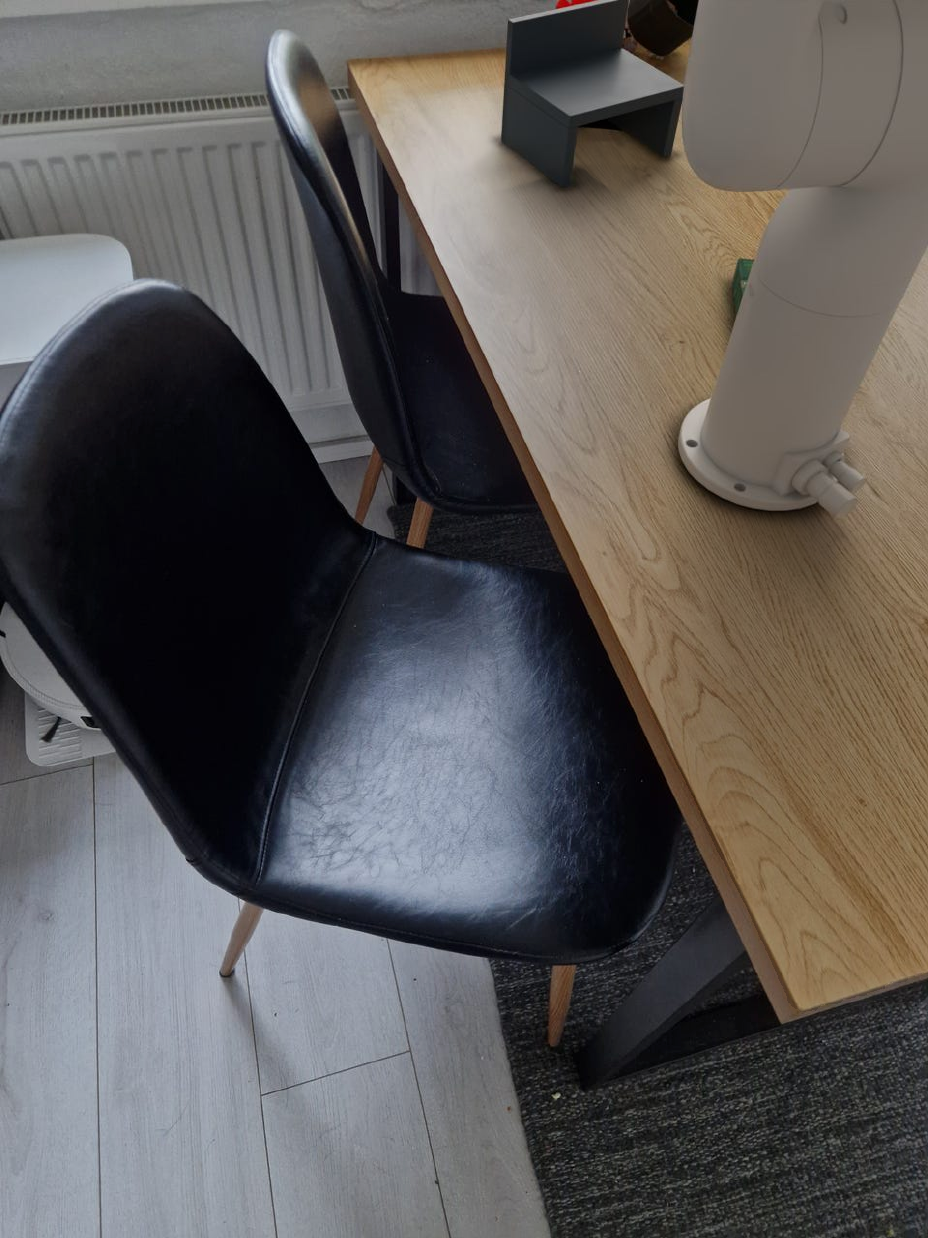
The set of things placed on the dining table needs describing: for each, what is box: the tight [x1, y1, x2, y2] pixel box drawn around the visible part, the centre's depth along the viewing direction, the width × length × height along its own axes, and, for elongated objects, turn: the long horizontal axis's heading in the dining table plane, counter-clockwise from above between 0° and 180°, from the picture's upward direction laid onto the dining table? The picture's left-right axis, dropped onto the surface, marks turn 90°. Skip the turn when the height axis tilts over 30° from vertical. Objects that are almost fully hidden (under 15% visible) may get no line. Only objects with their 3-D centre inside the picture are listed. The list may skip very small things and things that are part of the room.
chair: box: [500, 0, 684, 188], centre depth 94 cm, size 12×15×12 cm
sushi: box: [625, 0, 699, 61], centre depth 110 cm, size 8×8×8 cm
